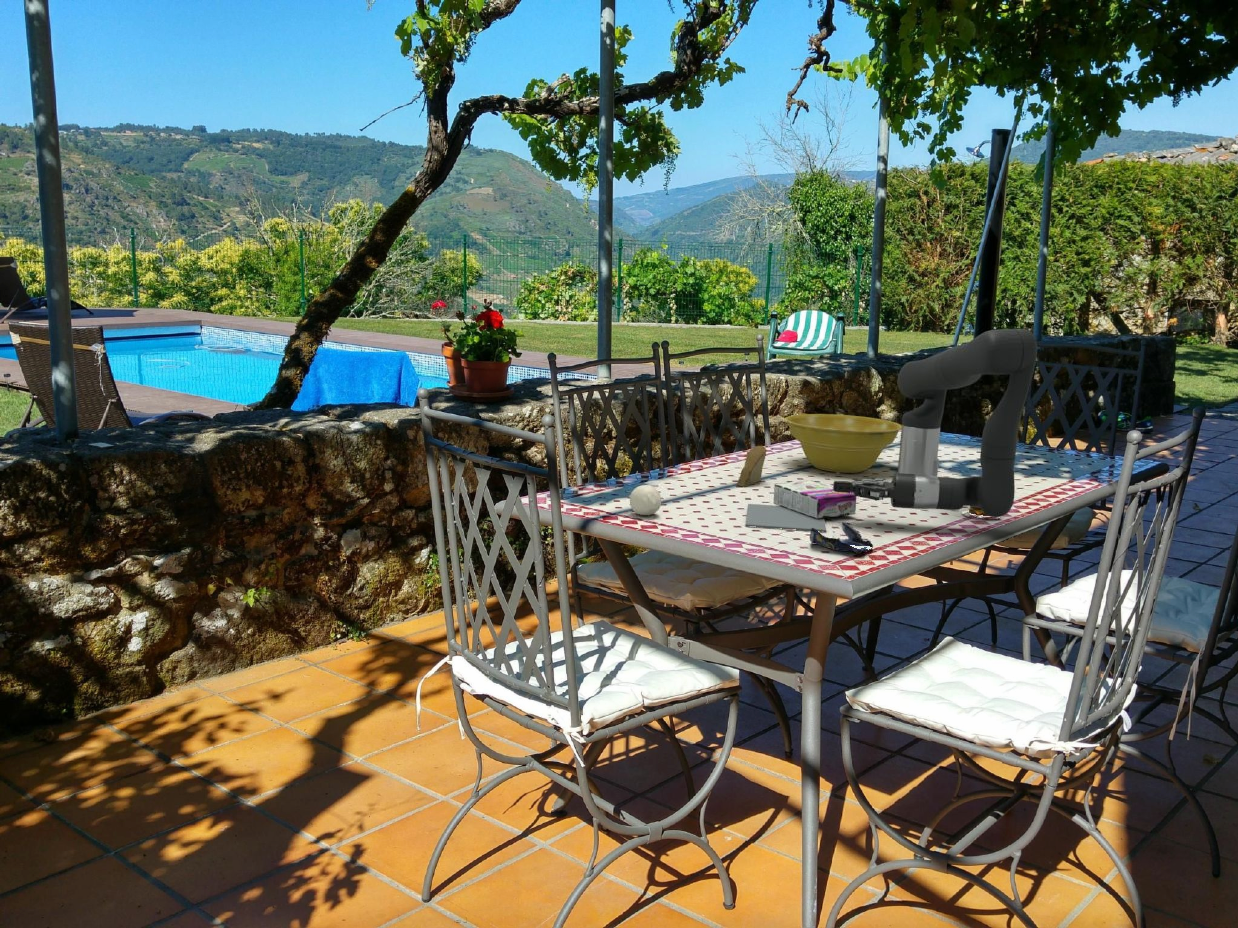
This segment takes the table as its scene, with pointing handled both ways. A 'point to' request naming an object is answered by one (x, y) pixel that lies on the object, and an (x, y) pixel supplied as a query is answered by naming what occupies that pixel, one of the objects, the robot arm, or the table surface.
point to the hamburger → (976, 510)
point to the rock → (752, 466)
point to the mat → (781, 518)
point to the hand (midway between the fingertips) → (833, 486)
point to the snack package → (841, 540)
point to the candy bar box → (814, 499)
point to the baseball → (645, 500)
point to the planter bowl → (842, 440)
